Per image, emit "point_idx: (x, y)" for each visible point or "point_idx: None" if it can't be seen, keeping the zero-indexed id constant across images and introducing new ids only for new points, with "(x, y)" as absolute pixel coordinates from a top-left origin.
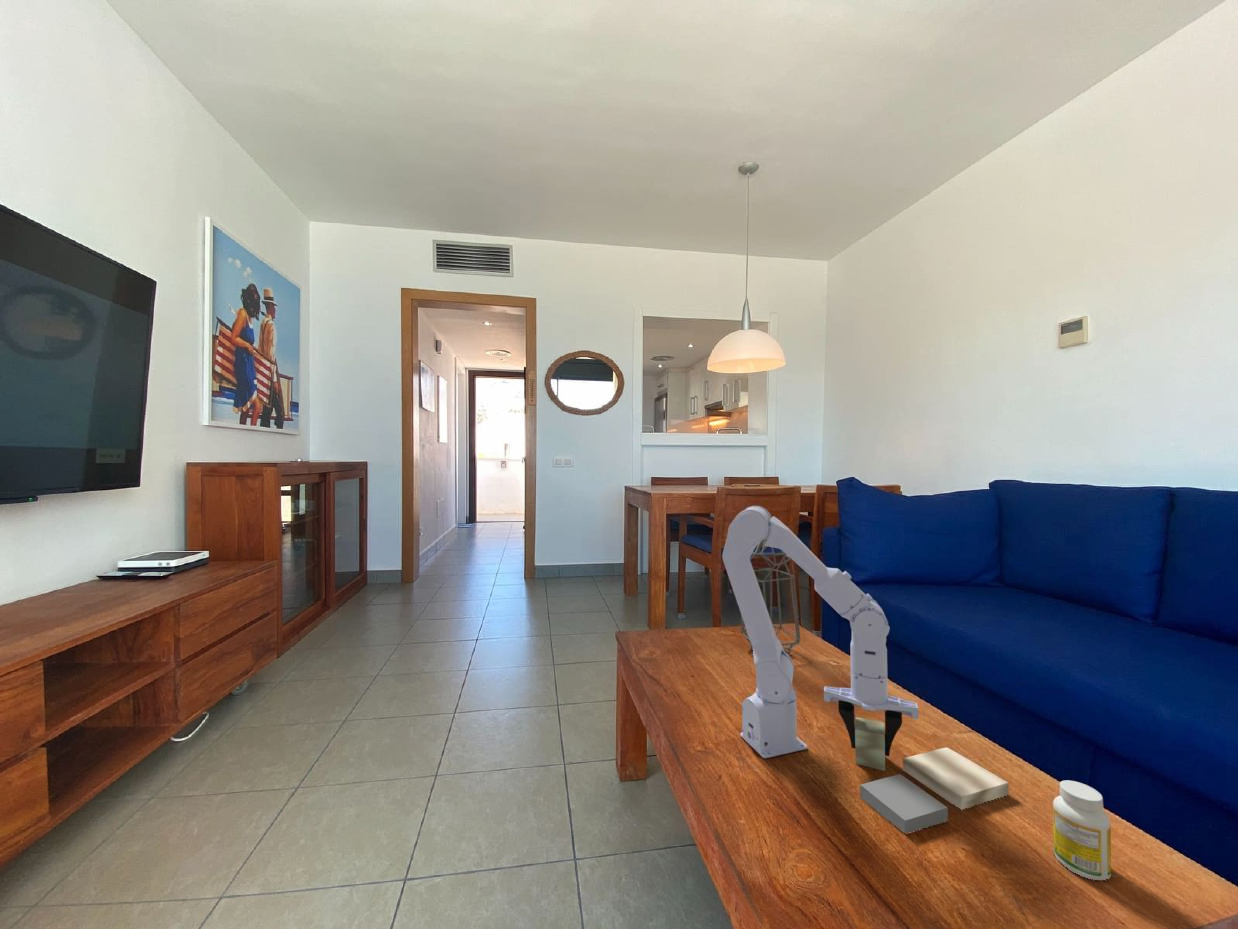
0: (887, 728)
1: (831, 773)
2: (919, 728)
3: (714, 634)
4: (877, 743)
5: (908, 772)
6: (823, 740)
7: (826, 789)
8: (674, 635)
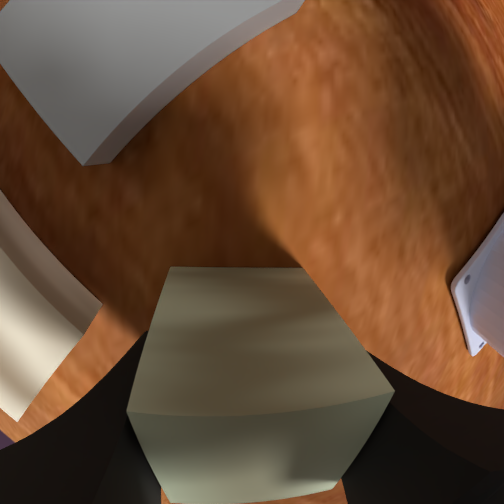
0: (84, 474)
1: (402, 150)
2: None
3: None
4: (198, 351)
5: (79, 287)
6: (388, 363)
7: (410, 46)
8: None
